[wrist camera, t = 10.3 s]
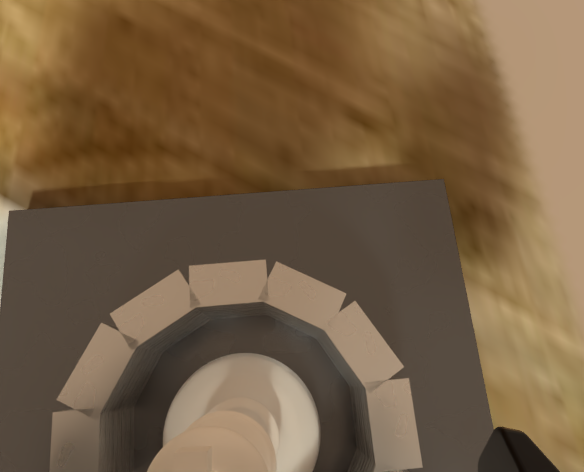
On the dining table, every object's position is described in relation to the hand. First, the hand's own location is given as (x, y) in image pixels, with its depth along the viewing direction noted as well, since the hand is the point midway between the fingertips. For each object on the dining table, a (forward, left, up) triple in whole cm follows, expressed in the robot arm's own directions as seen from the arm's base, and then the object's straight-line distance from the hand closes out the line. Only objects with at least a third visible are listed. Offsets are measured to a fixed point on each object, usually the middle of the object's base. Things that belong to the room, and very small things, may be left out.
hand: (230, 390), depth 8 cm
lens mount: (-1, 0, -9) cm, 9 cm away
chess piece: (-1, 0, -8) cm, 8 cm away
